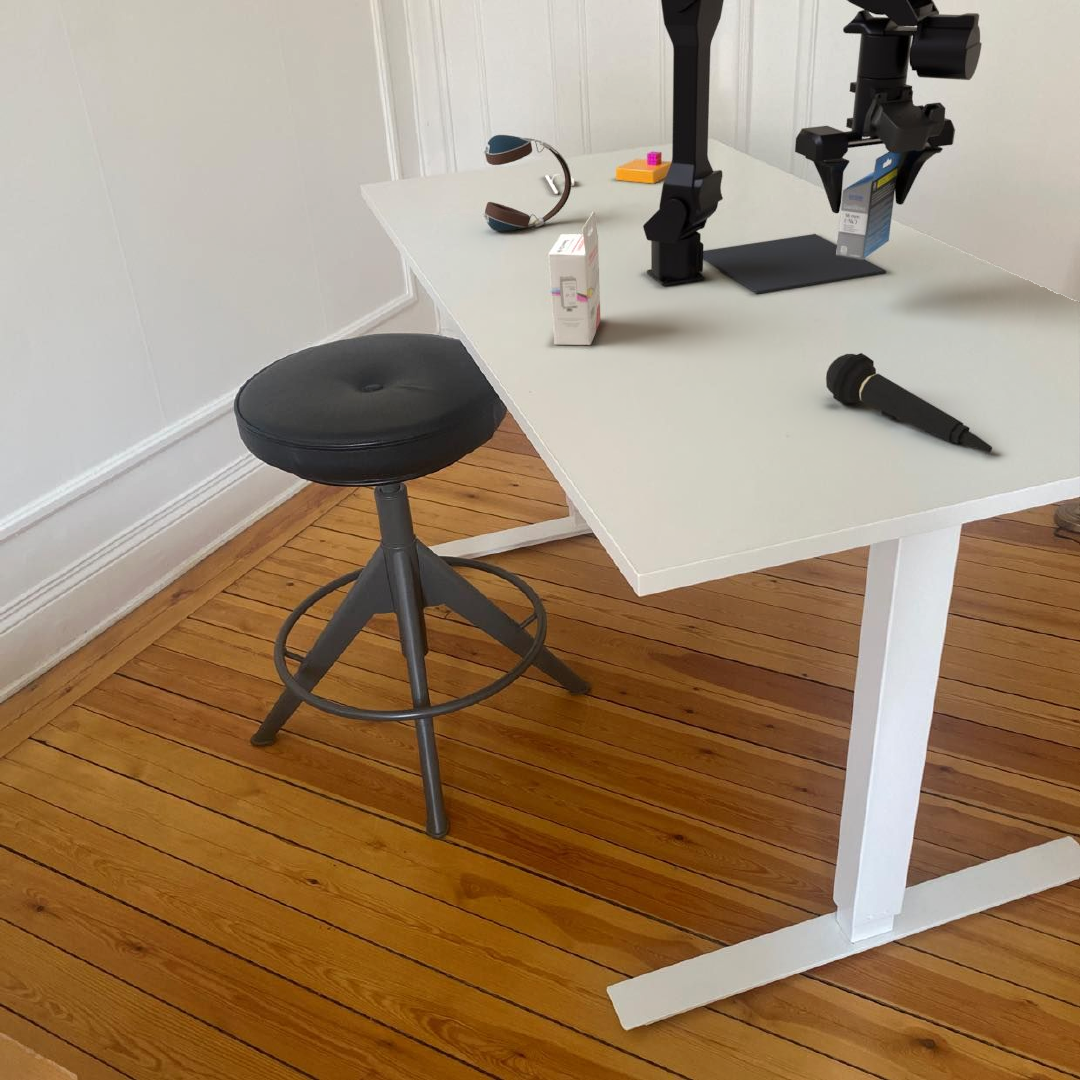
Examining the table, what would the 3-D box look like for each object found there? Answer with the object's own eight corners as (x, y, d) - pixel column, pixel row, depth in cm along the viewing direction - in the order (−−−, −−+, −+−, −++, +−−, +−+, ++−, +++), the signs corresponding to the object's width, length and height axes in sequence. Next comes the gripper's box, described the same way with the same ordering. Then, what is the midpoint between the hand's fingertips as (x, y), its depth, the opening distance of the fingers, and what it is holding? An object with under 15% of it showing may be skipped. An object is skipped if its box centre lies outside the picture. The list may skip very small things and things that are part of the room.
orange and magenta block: (653, 183, 206) (653, 160, 204) (615, 180, 210) (615, 156, 208) (673, 173, 211) (673, 150, 209) (636, 170, 215) (636, 147, 213)
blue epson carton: (860, 237, 146) (873, 140, 139) (889, 241, 144) (903, 143, 138) (834, 256, 140) (845, 155, 133) (864, 261, 138) (877, 158, 131)
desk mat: (756, 294, 152) (756, 291, 151) (696, 254, 168) (696, 251, 168) (885, 273, 156) (886, 270, 156) (814, 236, 173) (815, 233, 172)
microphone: (991, 474, 111) (837, 393, 124) (1016, 422, 109) (857, 344, 121) (963, 477, 108) (808, 393, 120) (989, 423, 105) (828, 343, 118)
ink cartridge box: (564, 321, 147) (559, 209, 139) (601, 321, 146) (598, 209, 138) (551, 345, 140) (545, 228, 132) (590, 346, 139) (586, 228, 131)
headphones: (446, 237, 179) (574, 232, 185) (445, 139, 172) (579, 137, 178) (437, 228, 184) (562, 223, 191) (436, 132, 177) (567, 130, 183)
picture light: (544, 177, 214) (544, 166, 213) (567, 175, 215) (566, 164, 214) (555, 195, 203) (554, 183, 201) (578, 193, 203) (578, 181, 202)
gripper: (846, 94, 122) (833, 234, 131) (992, 77, 127) (971, 215, 135) (797, 78, 132) (788, 211, 140) (936, 64, 136) (918, 193, 144)
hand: (867, 208), depth 139 cm, fingers closed on blue epson carton, 9 cm apart
